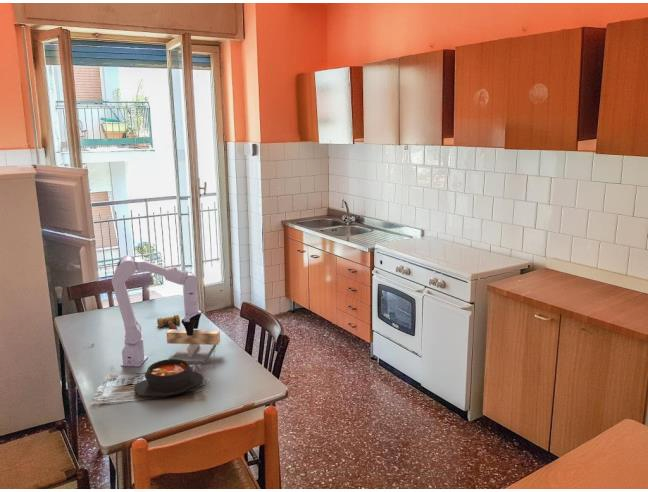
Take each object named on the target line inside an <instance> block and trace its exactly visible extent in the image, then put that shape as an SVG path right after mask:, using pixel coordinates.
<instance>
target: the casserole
mask: <svg viewBox="0 0 648 492" xmlns="http://www.w3.org/2000/svg"><path fill="white" fill-rule="evenodd" d="M144 378H145V379H144V380H141V381H138V382H137V383H136V384H135V385H134V388H133V389H134V393H136V394H137V395H139V396H141V397H152V396H158V397H159V396H160V397H162V396H163V397H164V396H165V397H166V396H171V395H177V394H180V393H183V392H186V391H188V390H189V389H191V388H194V387H197V386H199V385H201V384H202V383H203V382H204V377H203V375H202V374H201V373H199V372H196V371H193V368H192V366H190V364H189V363H187V362H186V361H184V360H180V359H171V358H169V359H163V360H162V359H161V360H158V361H156V362H153V363H152V364H151V365H149V366H148V367H147V370H146V372H145V373H144Z"/></svg>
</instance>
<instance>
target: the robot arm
mask: <svg viewBox="0 0 648 492" xmlns="http://www.w3.org/2000/svg"><path fill="white" fill-rule="evenodd" d="M136 272H137V274H139V273H142V272H147V273H148V272H149V273H152V274H155V275H159V276H162V277H164V279H165V281H168V282H170V283H174V284H177V285H180V286H182V285H183V305H184V309H183V310H184V312H183V315H184V316H183V319H180V323H181V324H182V326H183V327H184V328H185V329H184V330H186V333H187V335H188V336H192V335H193V330H199V329H198V328H199V324H200V319H201V316H202V313H203V311H202V310H200V305H199V295H198V294H199V291H198V285H199V281H198V278H197V275H196V274H195V273H193V272H192V271H187V270H185V271H184V270H181V269H178V267H177V266H169V267H163V266H161V265H158V264H155V263H153V262H151V261H148V260H145V259H142V258H140V257H137V256H135V257H134V256H133V255H124V256H122V258H121V259H120V260H119V261H117V264H116V267H115V270H114V273H113V275H112V277H111V284H112V287H113V290H114V291H113V292H114V295H115V298H116V301H117V304H118V308H119V312H120V315H121V318H122V321H123V326H124V331H125V335H124V338H125V339H124V347H123V348H122V351H121V355H122V357H121V358H122V363H121V364H120V366H121V367H141V366H142V364H144V362H146V360H147V359H148V358H149V356H148V355H145V349H144V338H143V336H142V327H141V324H140V323H139V322H138V321H137V318H136V316H135V313H134V309H133V305H132V302H131V299H130V295H129V292H128V290H127V286H126V282H127V280H128V279H129V278H130V277H132V276H133V275H134V274H135V273H136Z"/></svg>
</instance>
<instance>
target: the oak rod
mask: <svg viewBox="0 0 648 492" xmlns="http://www.w3.org/2000/svg"><path fill="white" fill-rule="evenodd" d="M220 334H221V332H220V330H210V329H209V330H208V329H204V330H203V329H193V335H192V336H188V335H187V333H186V330H185V329H178V330H174V329H171V328H170V329H168V330H166V345H167V344H171V345H172V344H173V345H182V344H207V345H215V346H216V345H217V346H218V345H219V344H220V342H221V335H220Z"/></svg>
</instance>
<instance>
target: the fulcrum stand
mask: <svg viewBox="0 0 648 492" xmlns="http://www.w3.org/2000/svg"><path fill="white" fill-rule="evenodd" d="M215 347H216V345H207V344H181V345H180V347H179V348H178V350H177V351H176V352H175V353H174V355H172V357H171V358H170V359H180V360H184V361H186V362H187V363H188V364H189V365H191V364H193V365H196V364H195V363H199V364H198V365H204V364H205V362H206V361H207V359H209V356H210V354H211V353H212V351H213V350H214V348H215Z"/></svg>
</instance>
